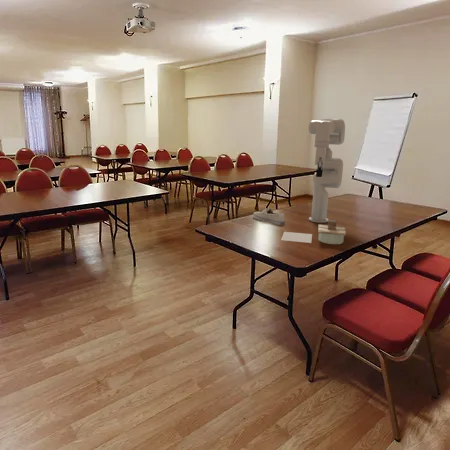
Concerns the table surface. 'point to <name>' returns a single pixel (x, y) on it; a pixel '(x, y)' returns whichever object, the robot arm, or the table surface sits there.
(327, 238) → the bowl
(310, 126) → the robot arm
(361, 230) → the table surface
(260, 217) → the boat shoe
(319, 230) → the lid
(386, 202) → the table surface
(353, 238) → the table surface
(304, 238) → the mat
